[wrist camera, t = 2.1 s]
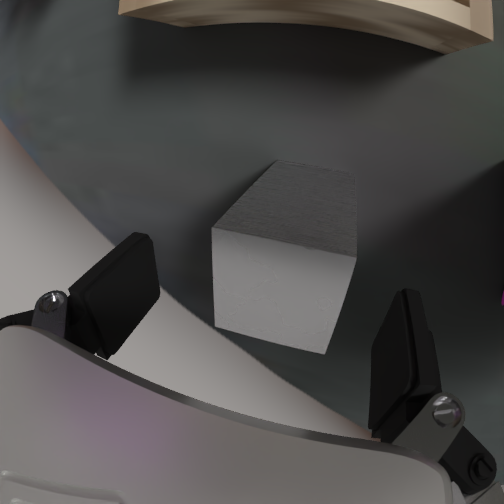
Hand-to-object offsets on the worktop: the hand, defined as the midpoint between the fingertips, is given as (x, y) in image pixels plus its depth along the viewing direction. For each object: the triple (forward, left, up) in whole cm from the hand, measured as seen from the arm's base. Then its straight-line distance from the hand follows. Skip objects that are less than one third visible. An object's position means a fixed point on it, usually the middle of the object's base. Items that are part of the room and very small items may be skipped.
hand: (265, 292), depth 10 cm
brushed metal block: (0, 0, -9) cm, 9 cm away
